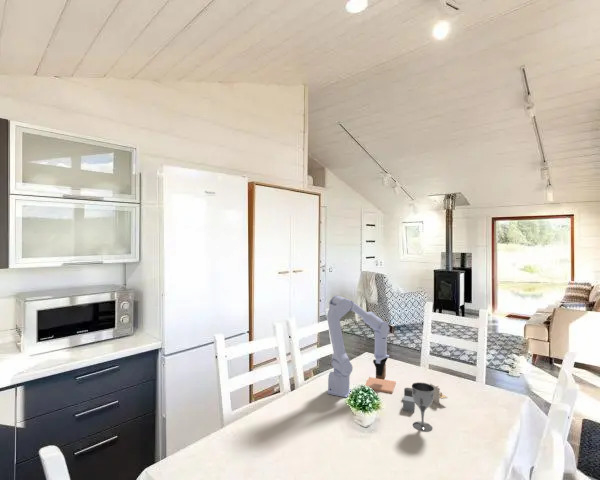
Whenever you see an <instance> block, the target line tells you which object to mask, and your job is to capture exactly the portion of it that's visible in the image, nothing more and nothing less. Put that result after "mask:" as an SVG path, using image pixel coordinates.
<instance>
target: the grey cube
mask: <svg viewBox="0 0 600 480" xmlns="http://www.w3.org/2000/svg"><path fill="white" fill-rule="evenodd" d="M415 409H416V403H415V402H414V400H413V397H409V396H403V399H402V411H404V412H409V413H415Z"/></svg>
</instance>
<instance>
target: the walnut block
mask: <svg viewBox="0 0 600 480" xmlns="http://www.w3.org/2000/svg"><path fill="white" fill-rule="evenodd" d="M386 366H387V365H386V363H385V364H384V367H383V373H382V376H379V375H377V372H376V371H375V378H377V379H383V380H386V379H385V378H386V376H387V375H386V369H387V367H386Z"/></svg>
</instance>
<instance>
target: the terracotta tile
mask: <svg viewBox="0 0 600 480" xmlns="http://www.w3.org/2000/svg"><path fill="white" fill-rule="evenodd" d="M396 381H397V380H396ZM396 381H394V380H391V379H390V380H389V379H384V380H383V379H377V378H376V377H371V376H369V377H368V379H367V381H366V382H365V384H364V386H365V385H366V386H369V387H370V388H372V389H374V390H373V391H375V392H382V393H388V394H393V393H394V389H395V387H396V384H397V382H396Z"/></svg>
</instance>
